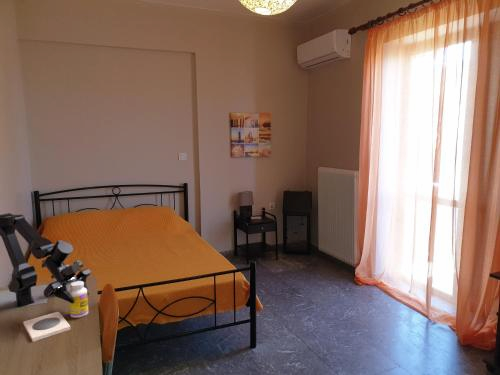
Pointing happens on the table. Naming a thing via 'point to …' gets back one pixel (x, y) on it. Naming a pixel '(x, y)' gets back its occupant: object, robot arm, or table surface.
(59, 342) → the table surface
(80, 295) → the supplement bottle
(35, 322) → the base
